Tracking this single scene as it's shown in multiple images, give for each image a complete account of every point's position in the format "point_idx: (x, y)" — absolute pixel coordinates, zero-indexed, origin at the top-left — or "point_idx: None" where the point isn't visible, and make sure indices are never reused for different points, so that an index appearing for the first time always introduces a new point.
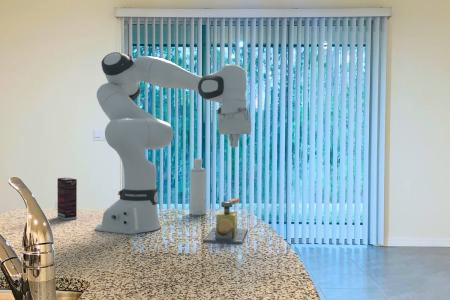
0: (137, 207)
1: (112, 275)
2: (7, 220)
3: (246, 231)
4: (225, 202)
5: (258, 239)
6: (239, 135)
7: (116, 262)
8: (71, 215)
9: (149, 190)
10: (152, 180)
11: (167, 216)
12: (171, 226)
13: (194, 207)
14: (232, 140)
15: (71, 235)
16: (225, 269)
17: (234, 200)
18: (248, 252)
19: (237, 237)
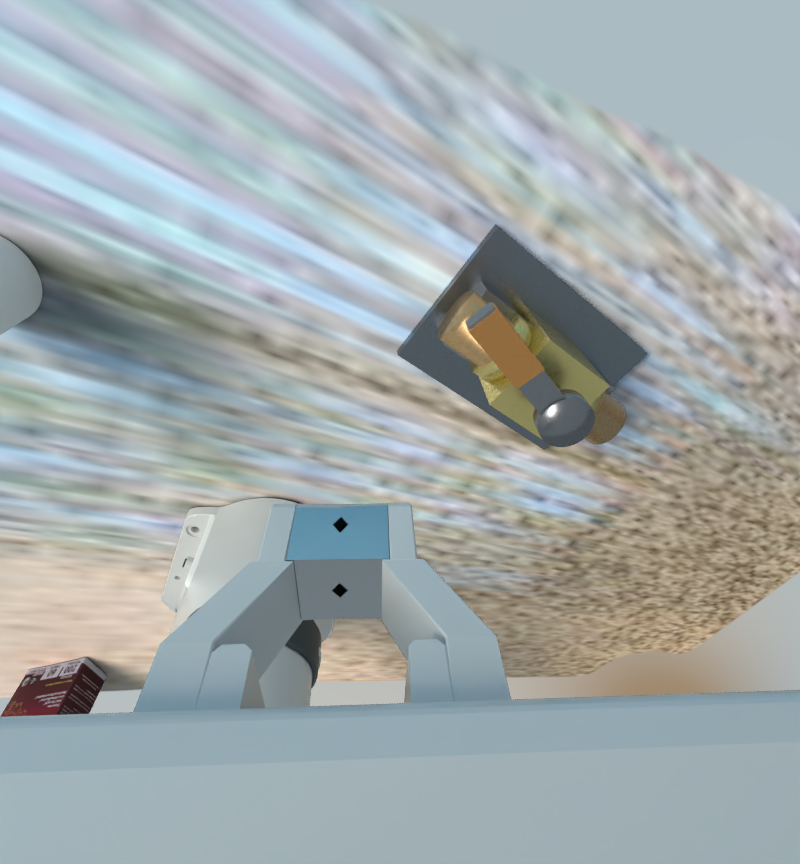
0: (328, 630)
1: (631, 630)
2: None
3: (530, 254)
4: (570, 433)
5: (635, 256)
6: (505, 682)
7: (567, 620)
8: (90, 677)
9: (310, 659)
10: (291, 691)
11: (64, 430)
12: (278, 465)
13: (12, 325)
14: (277, 619)
15: None
16: (772, 478)
17: (536, 364)
18: (724, 372)
19: (591, 340)
